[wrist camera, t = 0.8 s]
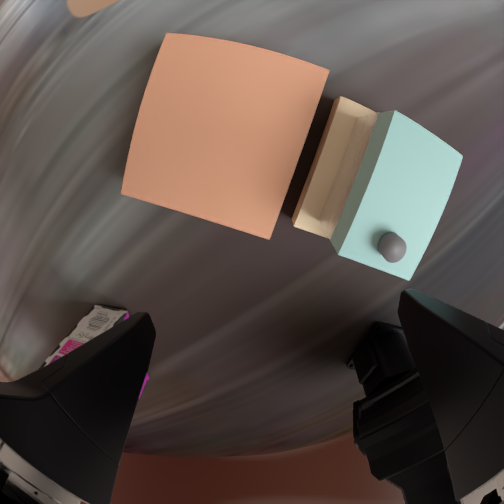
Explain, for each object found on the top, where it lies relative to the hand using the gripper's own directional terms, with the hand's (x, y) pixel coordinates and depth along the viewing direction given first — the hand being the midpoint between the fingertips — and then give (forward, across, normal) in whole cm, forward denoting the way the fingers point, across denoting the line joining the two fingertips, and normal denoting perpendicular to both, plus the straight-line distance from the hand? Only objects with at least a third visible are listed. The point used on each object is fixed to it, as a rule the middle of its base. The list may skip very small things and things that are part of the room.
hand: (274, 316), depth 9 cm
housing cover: (+7, -7, -2) cm, 11 cm away
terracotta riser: (+13, +3, -7) cm, 15 cm away
